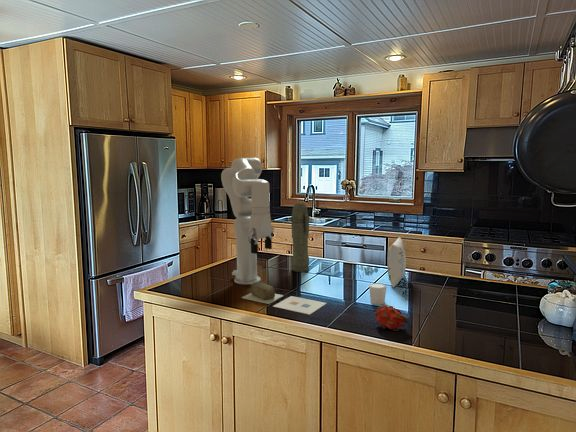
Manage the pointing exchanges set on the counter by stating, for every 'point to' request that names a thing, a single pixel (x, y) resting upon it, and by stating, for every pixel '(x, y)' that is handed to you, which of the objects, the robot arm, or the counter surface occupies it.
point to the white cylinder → (377, 293)
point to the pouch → (396, 261)
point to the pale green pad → (255, 298)
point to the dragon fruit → (390, 317)
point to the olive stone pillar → (300, 237)
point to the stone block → (262, 290)
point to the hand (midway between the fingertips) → (261, 251)
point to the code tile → (300, 305)
